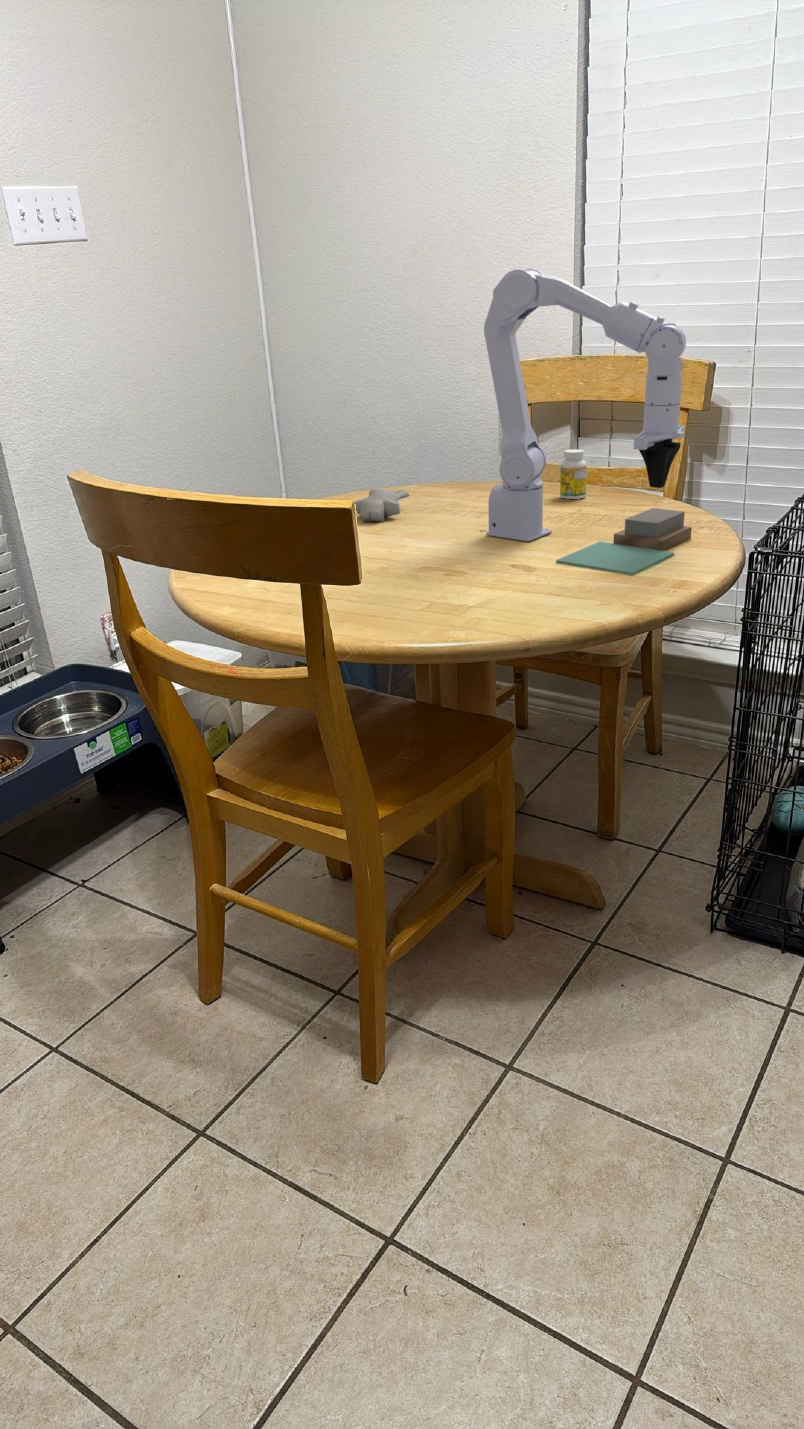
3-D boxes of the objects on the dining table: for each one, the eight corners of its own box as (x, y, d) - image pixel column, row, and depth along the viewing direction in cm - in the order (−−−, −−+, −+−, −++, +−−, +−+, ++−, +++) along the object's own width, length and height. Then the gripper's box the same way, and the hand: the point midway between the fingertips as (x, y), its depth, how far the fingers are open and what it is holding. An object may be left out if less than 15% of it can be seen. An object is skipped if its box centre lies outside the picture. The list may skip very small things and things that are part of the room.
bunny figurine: (345, 503, 190) (369, 479, 202) (348, 528, 193) (372, 503, 205) (391, 504, 187) (413, 480, 199) (393, 530, 190) (415, 504, 202)
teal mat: (556, 562, 159) (556, 560, 159) (599, 543, 169) (599, 541, 169) (632, 575, 151) (633, 572, 151) (674, 554, 160) (674, 552, 160)
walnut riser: (613, 545, 168) (613, 533, 167) (643, 531, 175) (644, 520, 174) (661, 552, 162) (662, 540, 161) (690, 538, 170) (691, 526, 169)
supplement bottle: (590, 498, 203) (592, 451, 199) (568, 501, 201) (569, 453, 197) (577, 493, 207) (578, 447, 203) (555, 496, 206) (556, 450, 202)
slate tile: (624, 533, 167) (625, 519, 166) (652, 521, 173) (653, 507, 172) (656, 538, 163) (657, 523, 162) (683, 525, 170) (684, 511, 169)
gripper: (664, 410, 152) (658, 497, 158) (704, 399, 162) (698, 481, 168) (623, 408, 156) (619, 492, 162) (665, 397, 166) (660, 477, 172)
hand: (657, 486), depth 165 cm, fingers closed
